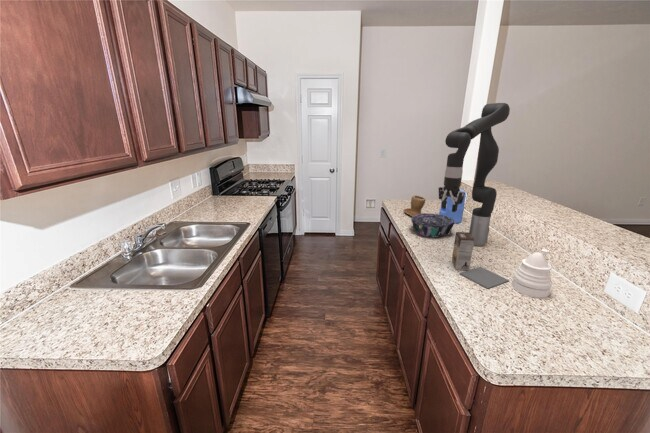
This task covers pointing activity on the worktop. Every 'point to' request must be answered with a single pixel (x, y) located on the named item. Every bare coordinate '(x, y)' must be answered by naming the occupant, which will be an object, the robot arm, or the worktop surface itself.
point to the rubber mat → (484, 277)
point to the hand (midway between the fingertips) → (448, 209)
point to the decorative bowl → (432, 224)
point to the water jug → (448, 210)
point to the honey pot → (533, 276)
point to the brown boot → (415, 205)
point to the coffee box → (462, 250)
